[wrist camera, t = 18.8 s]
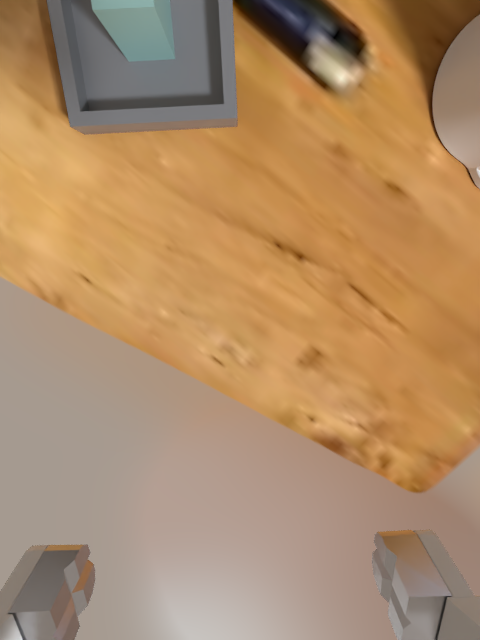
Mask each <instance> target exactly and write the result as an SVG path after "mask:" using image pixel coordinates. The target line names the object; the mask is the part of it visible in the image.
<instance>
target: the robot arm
mask: <svg viewBox="0 0 480 640" xmlns="http://www.w3.org/2000/svg"><path fill="white" fill-rule="evenodd" d="M432 108H433V118H434V123H435V127H436V130H437V133H438V136H439V138H440V140H441V142H442V143H443V145H444V146H445V148H446V149H447V150H448V151H449V152H450V153H451V154H452V155H453V156H454V157H455V158H456V159H458V160H459V161H460V162H462V163H463V164H464V165H465V166H466V167H467V168H468V170H469V172H470V174H471V177H472V179H473V181H474V183H475V184H476V186H477V187H478V188H479V189H480V14H479V15H478V16H477V17H475V18H474V19H473V20H472V21H471V22H469V23H468V24H467V25H466V26H465V27H464V29H463V30H462V31H461V32H460V33H459V34H458V36H457V37H456V38H455V39H454V41H453V42H452V44H451V45H450V47H449V49H448V50H447V52H446V54H445V56H444V58H443V60H442V62H441V65H440V67H439V70H438V73H437V76H436V80H435V85H434V90H433V100H432ZM374 543H375V545H376V547H377V549H376V550H375V551H374V552H373V557H372V565H373V573H374V577H375V580H376V584H377V587H378V589H379V592H380V594H381V595H382V596H383V597H384V598H385V599H386V600H387V601H388V602H389V610H388V616H389V619H390V621H391V624H392V626H393V629H394V632H395V634H396V637H397V639H398V640H480V596H475V595H474V593H473V592H472V590H471V589H470V587H469V585H468V584H467V582H466V581H465V579H464V578H463V576H462V574H461V573H460V571H459V570H458V568H457V566H456V565H455V563H454V562H453V560H452V558H451V557H450V556H449V554H448V552H447V551H446V549H445V547H444V546H443V544H442V543H441V541H440V540H439V538H438V536H437V535H436V533H434V532H433V531H432V530H417V531H412V530H403V531H386V532H377V533H376V534H375V538H374ZM89 555H90V550H89V547H88V545H87V544H86V545H37V546H32V547H30V548H29V549H28V550H27V551H26V552H25V553H24V555H23V556H22V558H21V560H20V562H19V563H18V564H17V566H16V568H15V569H14V571H13V572H12V574H11V575H10V577H9V578H8V580H7V582H6V583H5V585H4V586H3V588H2V589H1V591H0V640H75V637H76V635H77V632H78V629H79V627H80V624H79V619H78V615H79V614H80V613H81V612H82V611H83V610H84V609H85V608H86V607H87V606H88V604H89V601H90V598H91V595H92V593H93V588H94V583H95V568H94V564H93V563H92V562H90V561H89V560H88V557H89Z"/></svg>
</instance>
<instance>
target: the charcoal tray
mask: <svg viewBox="0 0 480 640" xmlns="http://www.w3.org/2000/svg"><path fill="white" fill-rule="evenodd" d="M47 5H48V11H49V16H50V21H51V27H52V32H53V37H54V43H55V48H56V53H57V59H58V64H59V69H60V75H61V80H62V85H63V91H64V96H65V101H66V107H67V112H68V117H69V123H70V127H72V128H74V129H75V130H77V131H79V132H81V133H83V134H104V133H123V132H143V131H162V130H181V129H200V128H220V127H237V98H236V75H235V52H234V29H233V6H232V0H170V7H171V18H172V29H173V40H174V51H175V59H168V60H150V61H131V62H129V61H128V60H127V58H126V57H125V56H124V54H123V53H122V51H121V50H120V49H119V47H118V46H117V44H116V43H115V41H114V40H113V39H112V37H111V36H110V34H109V33H108V31H107V30H106V29H105V27H104V26H103V24H102V23H101V21H100V20H99V19H98V17H97V16H96V14H95V13H94V12H93V10H92V4H91V0H47Z"/></svg>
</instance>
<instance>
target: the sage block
mask: <svg viewBox="0 0 480 640" xmlns="http://www.w3.org/2000/svg"><path fill="white" fill-rule="evenodd" d="M91 4H92V10H93V12H94V13H95V14H96V16H97V17H98V19H99V20H100V21H101V23H102V24H103V26H104V27H105V29H106V30H107V31H108V33H109V34H110V36H111V37H112V39H113V40H114V41H115V43H116V44H117V46H118V47H119V49H120V50H121V51H122V53H123V54H124V56H125V57H126V58H127V60H128V61H129V62H131V61H150V60H168V59H175V51H174V40H173V29H172V18H171V7H170V0H91Z"/></svg>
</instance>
